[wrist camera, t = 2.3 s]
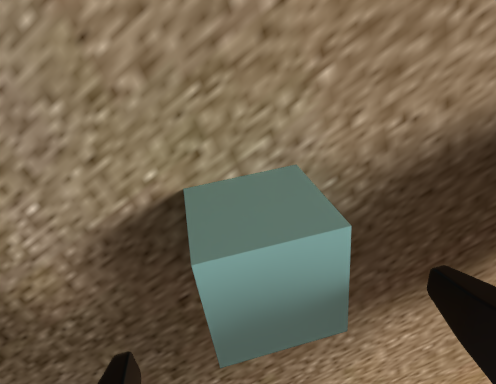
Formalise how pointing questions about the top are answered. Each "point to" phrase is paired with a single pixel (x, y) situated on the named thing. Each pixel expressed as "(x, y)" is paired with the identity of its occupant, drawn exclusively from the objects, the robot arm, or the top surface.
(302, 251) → the teal block
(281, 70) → the top surface
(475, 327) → the robot arm
